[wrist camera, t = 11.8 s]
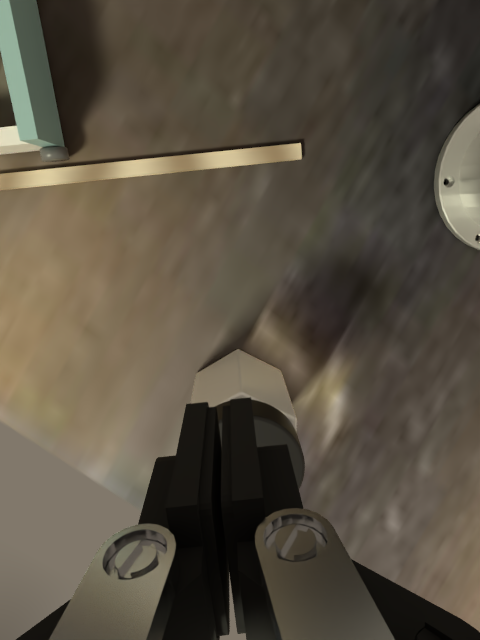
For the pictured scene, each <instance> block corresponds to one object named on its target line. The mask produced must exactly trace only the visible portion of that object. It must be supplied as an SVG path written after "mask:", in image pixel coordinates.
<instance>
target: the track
mask: <svg viewBox="0 0 480 640" xmlns="http://www.w3.org/2000/svg"><path fill="white" fill-rule="evenodd" d="M301 159H302V152H301V143H296V144H286V145H277V146H267V147H257V148H247V149H238V150H228V151H218V152H209V153H199V154H189V155H180V156H170V157H160V158H150V159H141V160H131V161H121V162H112V163H102V164H92V165H83V166H73V167H63V168H53V169H44V170H34V171H24V172H15V173H5V174H0V191H1V190H10V189H20V188H30V187H40V186H49V185H59V184H69V183H78V182H88V181H98V180H107V179H117V178H127V177H136V176H146V175H156V174H166V173H175V172H185V171H195V170H204V169H214V168H224V167H233V166H243V165H253V164H262V163H272V162H282V161H291V160H301Z"/></svg>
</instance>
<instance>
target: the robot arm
mask: <svg viewBox="0 0 480 640" xmlns="http://www.w3.org/2000/svg"><path fill="white" fill-rule="evenodd" d="M444 179H445V180H446V184H445V185H444ZM434 191H435V200H436V204H437V207H438V210H439V213H440V216H441V218H442V219H443V221H444V223H445V225H446V226H447V228H448V229H449V230H450V231H451V232H452V233H453V234H454V236H455V237H456V238H458V239H459V240H461V241H462V242H463V243H465V244H466V245H468V246H471V247H473V248H475V249H478V250H480V104H478V105H477V106H476V107H474V108H473V109H472V110H471V111H469V112H468V113H467V114H466V115H465V116H464V117H463V118H462V119H461V120H460V121H459V122H458V123H457V124H456V126H455V127H454V128H453V130H452V131H451V133H450V134H449V136H448V137H447V139H446V141H445V143H444V145H443V147H442V150H441V152H440V154H439V157H438V161H437V165H436V169H435V178H434ZM476 236H477V239H476V240H475V238H476ZM229 572H230V580H231V588H232V595H233V603H234V610H235V618H236V626H237V632H238V634H241V633H246V639H247V640H480V633H479V631H478V630H476V629H475V628H474V627H472V626H471V625H469V624H468V623H466V622H465V621H463V620H462V619H460V618H458V617H456V616H455V615H453V614H451V613H449V612H447V611H445V610H444V609H442V608H440V607H438V606H436V605H434V604H432V603H431V602H429V601H427V600H425V599H423V598H421V597H420V596H418V595H416V594H414V593H412V592H410V591H409V590H407V589H405V588H403V587H401V586H399V585H398V584H396V583H394V582H392V581H390V580H388V579H386V578H385V577H383V576H381V575H379V574H377V573H375V572H374V571H372V570H370V569H368V568H366V567H364V566H363V565H361V564H359V563H357V562H355V561H353V560H352V559H351V558H350V557H349V555H348V553H347V551H346V549H345V547H344V546H343V544H342V542H341V540H340V538H339V536H338V535H337V533H336V531H335V529H334V527H333V526H332V525H331V524H330V522H329V521H328V520H327V519H326V518H324V517H323V516H321V515H320V514H318V513H316V512H313V511H310V510H307V509H303V505H302V501H301V497H300V493H299V489H298V485H297V481H296V477H295V473H294V469H293V465H292V461H291V457H290V453H289V449H288V446H287V444H283V445H273V446H263V447H257V443H256V435H255V426H254V418H253V410H252V402H251V397H249V398H239V399H230V405H226V406H223V410H222V446H221V438H220V430H219V422H218V414H217V408H216V407H209V405H208V402H201V403H191V404H186V408H185V413H184V418H183V423H182V428H181V433H180V438H179V443H178V448H177V453H176V456H167V457H158V458H157V459H156V462H155V465H154V469H153V472H152V476H151V480H150V483H149V487H148V490H147V494H146V498H145V501H144V505H143V509H142V512H141V516H140V520H139V523H138V525H135V526H131V527H128V528H125V529H123V530H122V531H120V532H118V533H116V534H114V535H113V536H112V537H110V538H109V539H108V540H107V541H106V542H105V543H104V544H103V545H102V546H101V548H100V549H99V550H98V552H97V553H96V555H95V557H94V559H93V561H92V562H91V564H90V566H89V568H88V570H87V572H86V573H85V575H84V577H83V579H82V581H81V582H80V584H79V586H78V588H77V589H76V591H75V593H74V595H73V597H72V599H70V600H69V601H68V602H66V603H65V604H64V605H62V606H61V607H60V608H58V609H57V610H56V611H54V612H53V613H51V614H50V615H49V616H47V617H46V618H45V619H43V620H42V621H41V622H39V623H38V624H36V625H35V626H34V627H32V628H31V629H30V630H28V631H27V632H26V633H24V634H23V635H22V636H20V637H19V638H17V639H16V640H219V638H220V636H222V635H229Z"/></svg>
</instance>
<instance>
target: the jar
mask: <svg viewBox="0 0 480 640" xmlns="http://www.w3.org/2000/svg"><path fill="white" fill-rule="evenodd" d="M249 397H251V402H252V410H253V418H254V426H255V435H256V443H257V447H263V446H273V445H283V444H287V446H288V449H289V453H290V457H291V461H292V465H293V469H294V473H295V477H296V481H297V485H298V489H299V488H300V486H301V484H302V481H303V477H304V470H305V463H304V456H303V452H302V449H301V446H300V442H299V439H298V436H297V418H296V415H295V412H294V408H293V405H292V402H291V399H290V396H289V393H288V390H287V387H286V384H285V381H284V378H283V374H282V372H281V370H279V369H277V368H275V367H273V366H271V365H269V364H267V363H265V362H263V361H261V360H259V359H257V358H255V357H253V356H251V355H249V354H247V353H245V352H243V351H241V350H239V349H237V350H235V351H233V352H232V353H230V354H228V355H227V356H225V357H223V358H221V359H220V360H218V361H216V362H215V363H213V364H211V365H210V366H208V367H206V368H205V369H203V370H201V371H200V372H198V373H197V374H196V376H195V381H194V387H193V392H192V398H191V403H201V402H208V405H209V407H216V408H217V414H218V422H219V430H220V438H221V446H222V410H223V406H226V405H230V399H239V398H249ZM191 403H190V404H191Z"/></svg>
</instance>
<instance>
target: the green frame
mask: <svg viewBox="0 0 480 640" xmlns="http://www.w3.org/2000/svg"><path fill="white" fill-rule="evenodd" d="M0 51H1V56H2V60H3V65H4V69H5V74H6V79H7V83H8V88H9V92H10V97H11V102H12V106H13V111H14V115H15V120H16V124H17V126H9V127H0V155H1V154H10V153H20V152H30V151H39V150H40V155H41V160H42V161H45V162H56V161H65V160H69V154H68V148H67V147H65V146H64V140H63V135H62V130H61V125H60V120H59V115H58V109H57V104H56V99H55V94H54V89H53V83H52V78H51V73H50V68H49V63H48V58H47V52H46V47H45V42H44V37H43V32H42V27H41V21H40V16H39V11H38V6H37V1H36V0H0Z"/></svg>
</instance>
